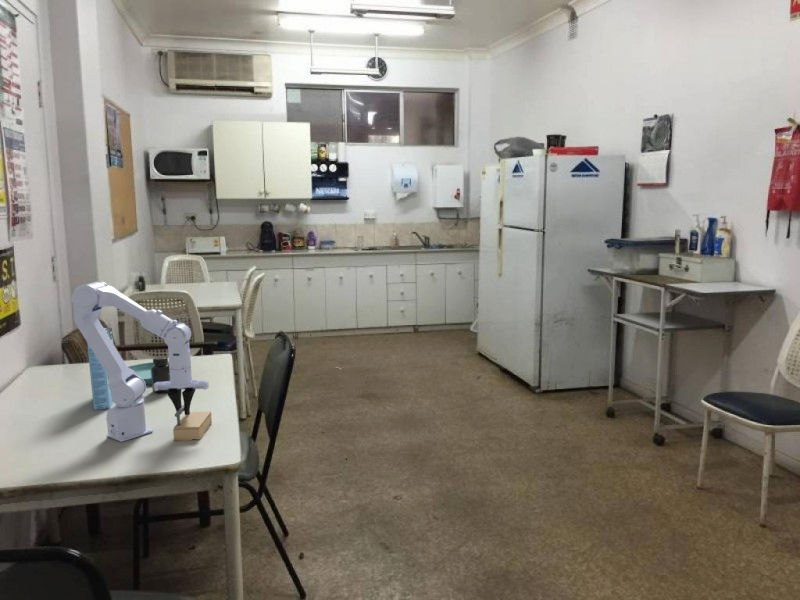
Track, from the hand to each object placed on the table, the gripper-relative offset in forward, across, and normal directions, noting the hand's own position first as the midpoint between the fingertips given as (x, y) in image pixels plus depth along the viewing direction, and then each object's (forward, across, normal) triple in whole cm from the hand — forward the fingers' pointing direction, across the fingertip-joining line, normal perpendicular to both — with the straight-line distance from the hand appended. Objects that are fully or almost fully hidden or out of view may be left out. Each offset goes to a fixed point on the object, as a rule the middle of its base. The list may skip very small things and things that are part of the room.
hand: (183, 413), depth 171 cm
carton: (+5, -2, 0) cm, 6 cm away
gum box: (+6, +35, -32) cm, 47 cm away
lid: (+2, -3, 0) cm, 3 cm away
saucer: (+6, +30, -59) cm, 67 cm away
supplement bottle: (+6, +20, -41) cm, 45 cm away
